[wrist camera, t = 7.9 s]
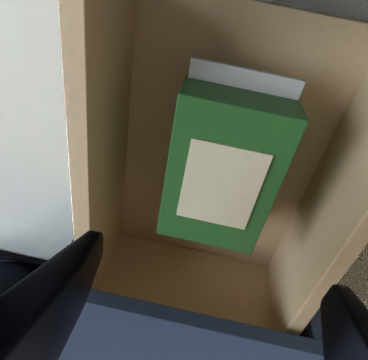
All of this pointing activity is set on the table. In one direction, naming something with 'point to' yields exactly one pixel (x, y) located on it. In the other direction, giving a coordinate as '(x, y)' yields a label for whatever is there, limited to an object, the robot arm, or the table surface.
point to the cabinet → (178, 334)
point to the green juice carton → (229, 153)
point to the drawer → (160, 142)
